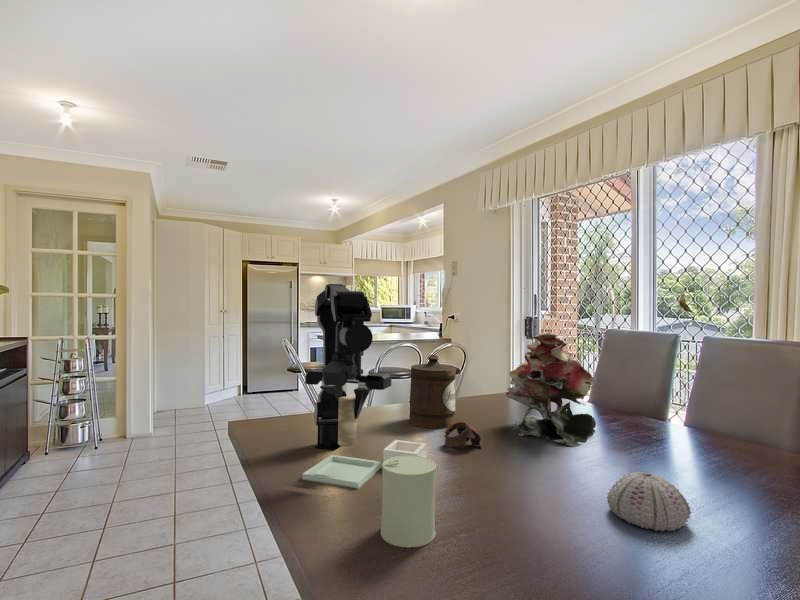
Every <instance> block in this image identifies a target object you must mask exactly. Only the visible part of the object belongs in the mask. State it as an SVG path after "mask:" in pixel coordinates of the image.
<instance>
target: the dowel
mask: <svg viewBox="0 0 800 600" xmlns="http://www.w3.org/2000/svg"><path fill="white" fill-rule="evenodd" d="M354 410H355V396H348V395H346V397H340V398H339V408H338V445H340V446H341V447H353V446H356V444H357V419H355V415H354Z"/></svg>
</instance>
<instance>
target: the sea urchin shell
mask: <svg viewBox="0 0 800 600" xmlns="http://www.w3.org/2000/svg"><path fill="white" fill-rule="evenodd" d="M606 498H607V500H606V501H607V504H608V507H609V508H610V510H611V512H612V513H614V514H615V516H617V517H619V518H620V519H621V520H625V521H626V523H629V524H632V525H634V526H635V525H636V526H637V527H640V528H642V529H646V530H648V529H652V530H653V531H655V532H657V531H659V532H665V531H668V532H671V531H676V529H678V530H679V529H680V528H681V527H685V523H688V522H689V520H688V519H690V518H691V516H690V515H691V514H692V511H691V506H689V504H690V503H689V502H687V499H686V498H685V497H684V495H683V493H682V492H681V491H680V490H679V489H678V488H677V487H676V486H675V485H674V484H673V483H671V482H670V481H669V480H667V479H665V478H664V477H661V476H659V475H656V474H654V473H651V472H642V471H640V472H638V471H635V472H634V471H633V472H630V473H626V474H623V476H621V477H619V479H618V480H616V481H615V483H614V484H612V487H611V488H610V489H609V492H608V493H607V496H606Z"/></svg>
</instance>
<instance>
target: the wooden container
mask: <svg viewBox="0 0 800 600" xmlns="http://www.w3.org/2000/svg"><path fill="white" fill-rule="evenodd" d="M427 359H428V360H429V361H428V362H427V363H419V364H413V365H411V367H410V387H409V388H410V391H409V392H410V393H409V423H410V424H412V425H413V426H415V425H416V426H415V427H420V428H424V427H425V429H444V428H448V427H449V426H451V425H452V424H454V423H456V375H457V374H456V373H457V369H456V367H455V366H453V365H449V364H443V363H442V364H441V363H439V361H438V360H439V356H438V355H436V354H431V355H428V357H427Z"/></svg>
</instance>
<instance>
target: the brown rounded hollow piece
mask: <svg viewBox="0 0 800 600" xmlns="http://www.w3.org/2000/svg"><path fill="white" fill-rule="evenodd" d="M455 430H456V431H457V435H454V436H449V435H450V434H451V433H452V432H454V431H455ZM444 433H445V435H443V436H444V438H445V439H444V446H445V447H448V448H454V447H459V446H462V445H463V446H466V447H467V446H468V444H467V442H468V441H470V442H471V443H470V444H471V446H477V447H480V448H479V449H482V450H483V442H482V439H481V435H480V434H479V432H478V430H477V429H476V427H474V426H472V425H470V424H469V423H468V422H467V421H465V420H464V421H463V420H461V421H457V422H456V421H455V423H454V424H452V425H451V426H449V427H446V429H445V431H444Z"/></svg>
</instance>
